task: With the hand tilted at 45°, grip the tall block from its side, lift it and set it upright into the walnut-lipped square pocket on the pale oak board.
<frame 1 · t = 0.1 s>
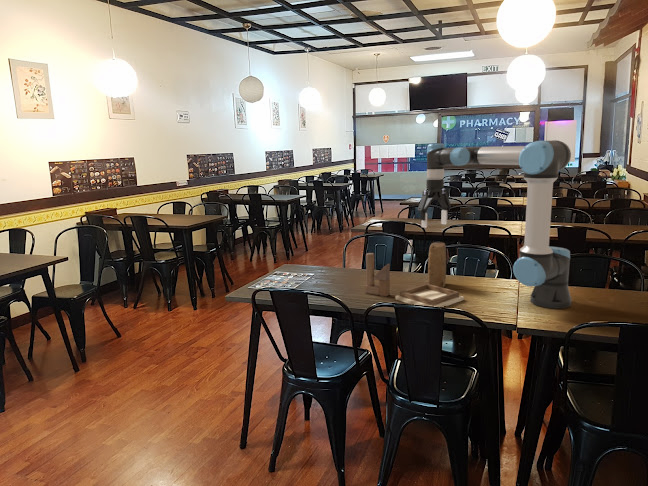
hand: (434, 225, 222), 28 cm above the table, tool pointing down, fingers open, 13 cm apart
block: (437, 285, 227), on the table
wooden block: (377, 294, 217), on the table
pocket board: (429, 299, 207), on the table
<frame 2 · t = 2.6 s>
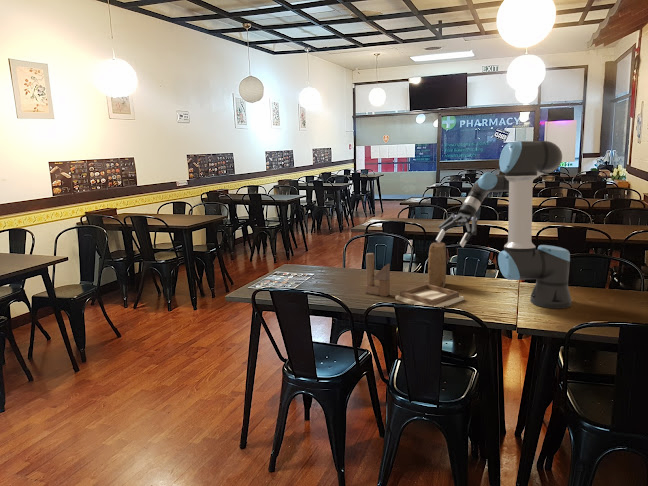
hand: (449, 243, 229), 18 cm above the table, tool tilted 45°, fingers open, 13 cm apart
nothing on the table moved.
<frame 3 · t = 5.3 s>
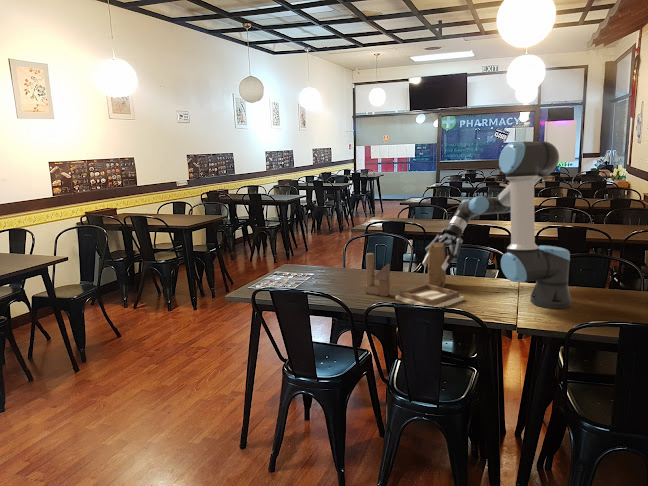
hand: (433, 266, 223), 10 cm above the table, tool tilted 45°, fingers closed on block, 10 cm apart
block: (437, 285, 227), on the table, touching gripper
everything else where it was.
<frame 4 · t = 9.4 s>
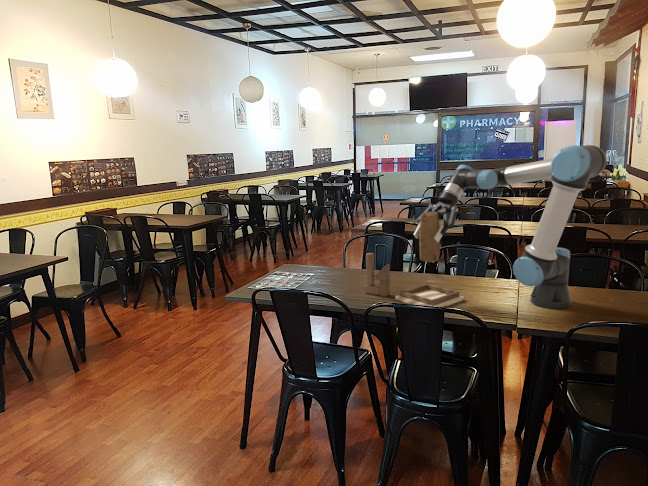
hand: (425, 238, 200), 27 cm above the table, tool tilted 45°, fingers closed on block, 10 cm apart
block: (429, 260, 204), point 17 cm above the table, touching gripper
everything else where it was.
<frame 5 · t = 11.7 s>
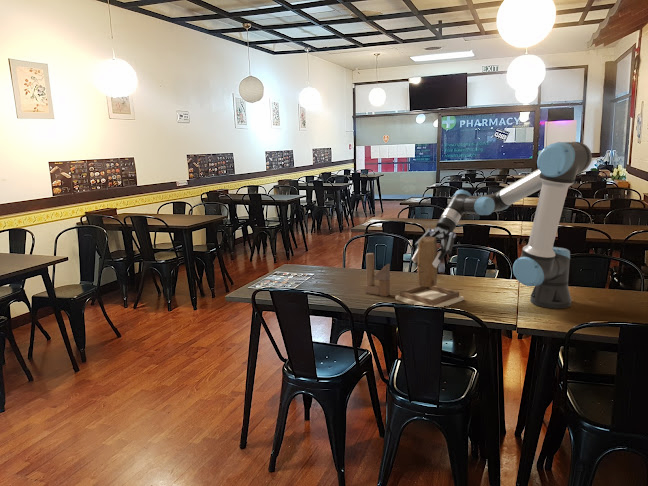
hand: (423, 263, 202), 16 cm above the table, tool tilted 45°, fingers closed on block, 10 cm apart
block: (427, 284, 206), point 6 cm above the table, touching gripper
everything else where it was.
when the fingers open (11 cm above the table, at t = 13.6 s): block stays where it is, resting on pocket board.
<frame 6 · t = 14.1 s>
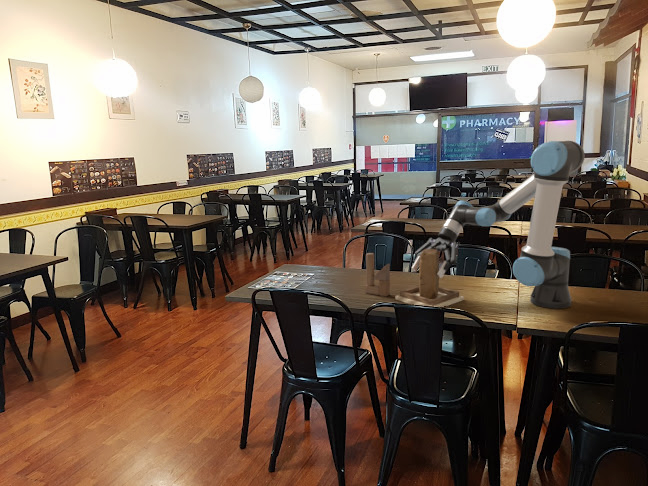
hand: (426, 272, 203), 12 cm above the table, tool tilted 45°, fingers open, 13 cm apart
block: (429, 296, 207), point 1 cm above the table, touching pocket board
everything else where it was.
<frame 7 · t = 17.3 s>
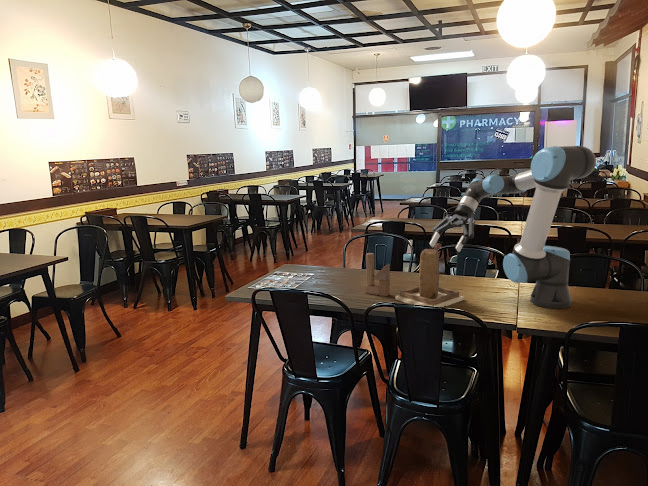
hand: (444, 247, 209), 21 cm above the table, tool tilted 45°, fingers open, 13 cm apart
nothing on the table moved.
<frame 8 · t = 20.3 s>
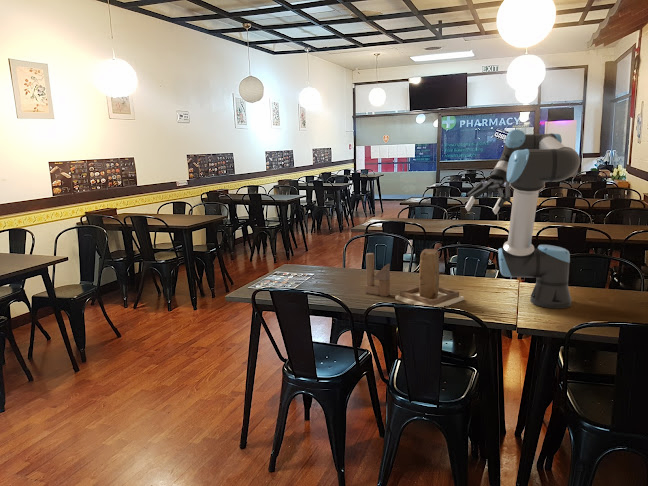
hand: (480, 210, 211), 36 cm above the table, tool tilted 45°, fingers open, 13 cm apart
nothing on the table moved.
at the end: block inside the target area on the pocket board (0.2 cm from its centre), point 1.3 cm above the pocket board's base; block tilted 0°; the gripper is holding nothing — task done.
